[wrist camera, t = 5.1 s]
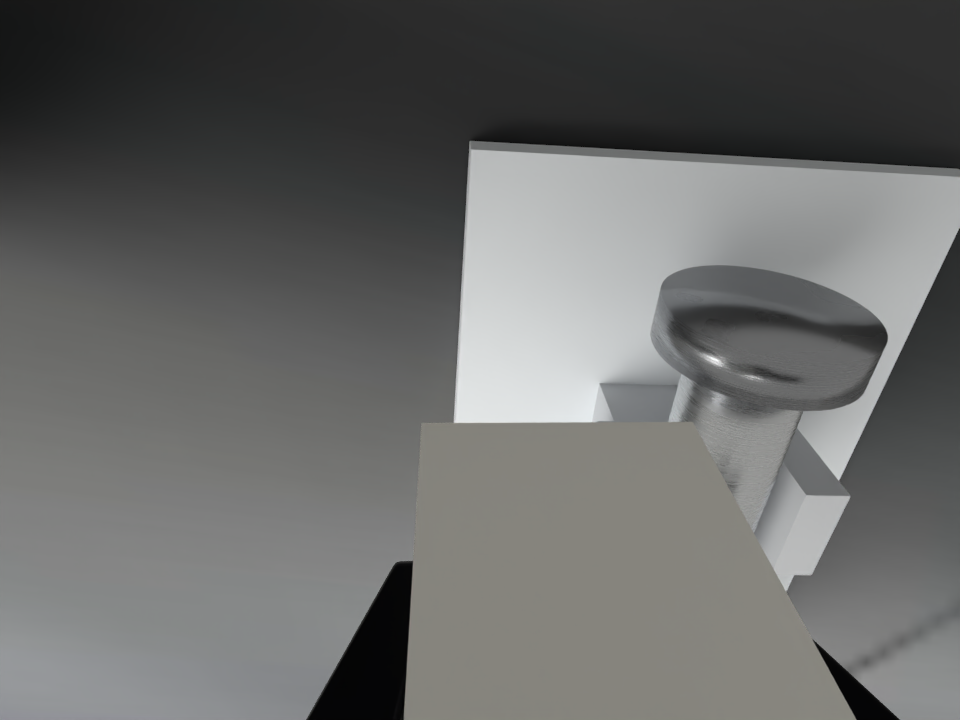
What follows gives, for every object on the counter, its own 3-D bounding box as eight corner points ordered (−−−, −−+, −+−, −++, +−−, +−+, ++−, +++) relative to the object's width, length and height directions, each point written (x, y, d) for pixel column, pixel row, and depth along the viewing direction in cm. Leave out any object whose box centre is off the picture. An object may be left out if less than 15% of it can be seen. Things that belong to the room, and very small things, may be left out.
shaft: (554, 656, 26) (577, 792, 21) (636, 261, 17) (703, 358, 12) (674, 655, 26) (720, 788, 22) (816, 269, 17) (940, 366, 13)
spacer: (426, 604, 11) (413, 989, 7) (421, 423, 9) (398, 813, 5) (648, 600, 11) (768, 971, 7) (692, 421, 9) (897, 794, 5)
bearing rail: (435, 739, 32) (434, 883, 27) (469, 140, 17) (482, 212, 12) (702, 734, 33) (749, 872, 28) (957, 168, 18) (1162, 245, 13)
